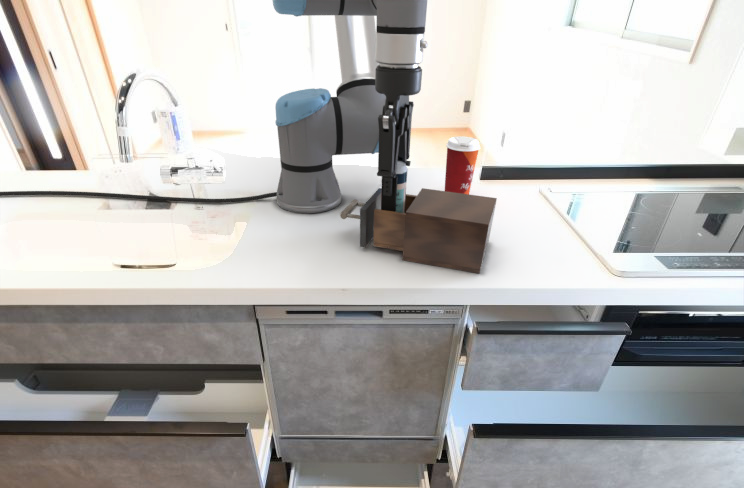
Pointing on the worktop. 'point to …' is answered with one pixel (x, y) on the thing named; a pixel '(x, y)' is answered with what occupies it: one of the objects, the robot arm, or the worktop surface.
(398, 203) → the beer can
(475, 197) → the cabinet
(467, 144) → the paper cup
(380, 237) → the drawer
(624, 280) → the worktop surface
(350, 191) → the worktop surface
